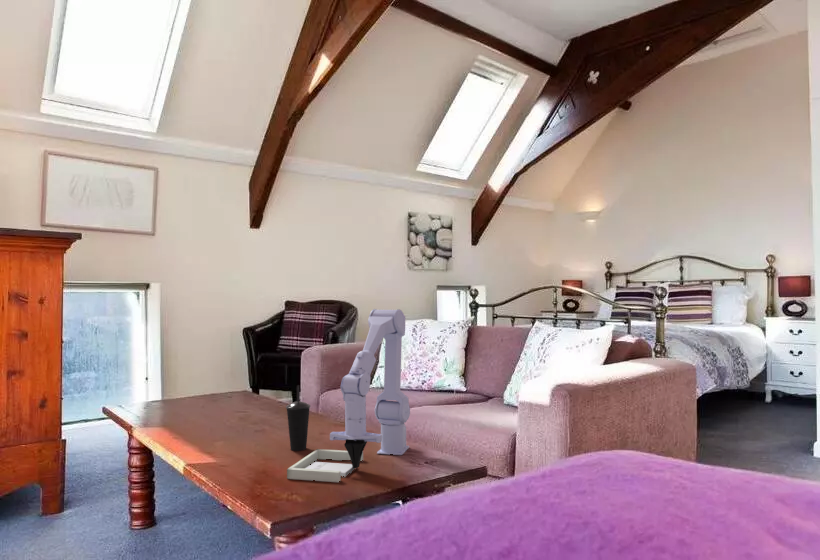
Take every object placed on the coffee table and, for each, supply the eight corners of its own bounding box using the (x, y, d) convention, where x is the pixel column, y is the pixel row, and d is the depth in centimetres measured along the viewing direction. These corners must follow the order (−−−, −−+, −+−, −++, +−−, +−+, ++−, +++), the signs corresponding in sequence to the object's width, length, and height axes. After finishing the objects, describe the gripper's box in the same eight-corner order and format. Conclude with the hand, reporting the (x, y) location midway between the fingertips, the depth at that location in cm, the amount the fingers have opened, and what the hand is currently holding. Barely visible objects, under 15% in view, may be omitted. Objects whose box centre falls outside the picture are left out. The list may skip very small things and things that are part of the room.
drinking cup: (286, 453, 183) (286, 387, 183) (285, 446, 190) (284, 384, 191) (312, 451, 185) (311, 386, 185) (309, 445, 192) (308, 383, 193)
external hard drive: (345, 478, 159) (303, 475, 162) (356, 469, 167) (315, 466, 170) (345, 472, 159) (302, 469, 162) (356, 463, 167) (315, 460, 170)
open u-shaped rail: (317, 457, 178) (317, 449, 178) (363, 460, 175) (363, 451, 175) (287, 478, 158) (287, 469, 158) (338, 482, 155) (338, 472, 155)
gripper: (325, 419, 162) (325, 469, 162) (376, 422, 159) (376, 473, 159) (334, 414, 169) (335, 462, 169) (383, 416, 166) (384, 465, 166)
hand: (356, 467), depth 164 cm, fingers closed
